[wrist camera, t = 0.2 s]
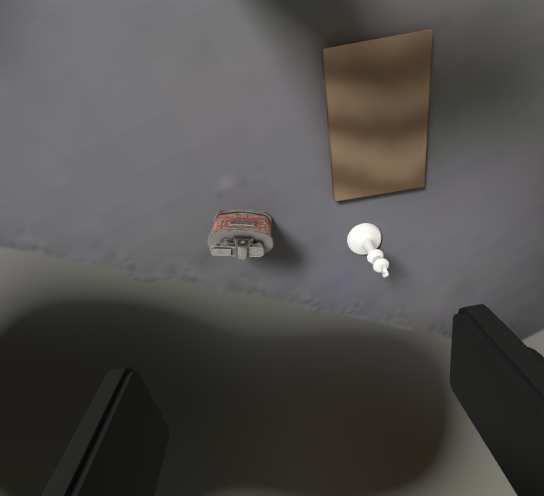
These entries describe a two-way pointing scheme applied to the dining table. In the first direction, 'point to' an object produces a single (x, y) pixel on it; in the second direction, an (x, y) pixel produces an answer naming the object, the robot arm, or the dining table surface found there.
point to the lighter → (241, 233)
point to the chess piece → (368, 245)
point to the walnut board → (378, 113)
